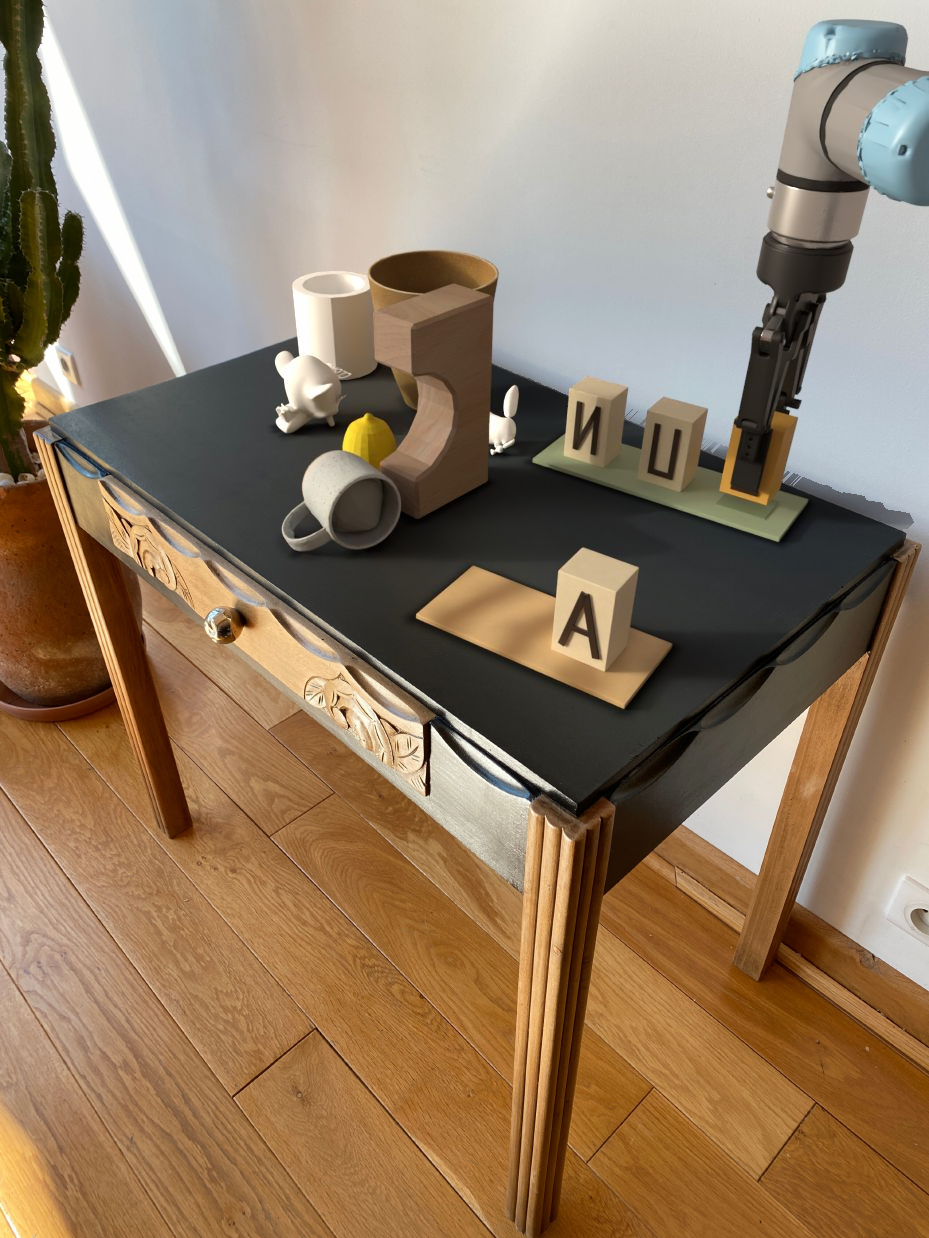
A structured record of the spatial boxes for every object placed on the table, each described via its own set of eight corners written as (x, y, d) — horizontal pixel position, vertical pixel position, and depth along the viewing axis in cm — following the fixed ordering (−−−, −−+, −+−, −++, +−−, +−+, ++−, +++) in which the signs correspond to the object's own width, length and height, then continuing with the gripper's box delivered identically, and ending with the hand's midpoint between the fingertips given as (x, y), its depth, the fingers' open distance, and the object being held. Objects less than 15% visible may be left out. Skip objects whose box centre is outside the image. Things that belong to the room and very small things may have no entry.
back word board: (807, 503, 96) (808, 498, 96) (778, 542, 90) (780, 537, 90) (571, 432, 108) (571, 427, 108) (532, 462, 102) (532, 457, 102)
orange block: (780, 489, 95) (798, 417, 90) (765, 506, 92) (784, 433, 87) (733, 475, 97) (749, 404, 92) (718, 491, 94) (733, 419, 89)
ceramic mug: (365, 500, 96) (360, 432, 91) (404, 537, 90) (401, 467, 85) (270, 530, 91) (259, 461, 86) (304, 571, 86) (295, 499, 81)
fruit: (371, 463, 102) (367, 395, 97) (408, 479, 99) (406, 410, 94) (334, 482, 98) (328, 413, 94) (372, 499, 96) (368, 429, 91)
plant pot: (358, 386, 118) (350, 257, 108) (466, 369, 122) (468, 244, 112) (397, 437, 107) (392, 299, 97) (513, 416, 111) (520, 282, 102)
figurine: (312, 465, 105) (382, 417, 107) (282, 407, 99) (357, 357, 101) (266, 425, 113) (333, 381, 115) (236, 369, 107) (306, 323, 109)
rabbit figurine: (471, 456, 103) (466, 399, 107) (489, 472, 106) (484, 415, 110) (516, 436, 101) (510, 378, 104) (534, 452, 104) (528, 395, 107)
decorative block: (416, 522, 92) (412, 326, 80) (378, 501, 95) (368, 309, 83) (491, 483, 99) (498, 296, 86) (453, 465, 102) (454, 281, 89)
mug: (326, 337, 130) (320, 260, 124) (395, 345, 128) (392, 267, 122) (288, 375, 120) (278, 292, 114) (362, 384, 118) (357, 301, 112)
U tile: (695, 477, 99) (708, 408, 94) (679, 493, 97) (692, 423, 92) (652, 464, 101) (663, 396, 97) (636, 479, 99) (646, 410, 94)
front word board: (671, 648, 77) (672, 643, 77) (624, 709, 72) (625, 704, 71) (473, 569, 86) (473, 565, 86) (416, 618, 80) (415, 614, 80)
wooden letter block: (620, 454, 103) (628, 387, 98) (602, 469, 100) (610, 400, 95) (580, 442, 105) (587, 375, 100) (562, 456, 103) (568, 388, 98)
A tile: (627, 646, 77) (639, 567, 72) (603, 673, 74) (615, 593, 69) (574, 624, 79) (582, 546, 74) (549, 650, 76) (556, 571, 71)
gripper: (798, 206, 86) (747, 434, 101) (730, 252, 75) (684, 501, 89) (881, 220, 83) (816, 453, 97) (822, 270, 72) (759, 525, 86)
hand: (753, 476), depth 93 cm, fingers closed on orange block, 4 cm apart
